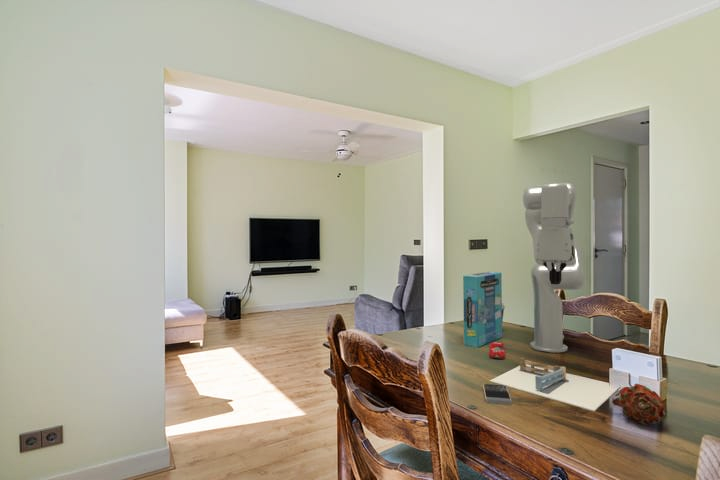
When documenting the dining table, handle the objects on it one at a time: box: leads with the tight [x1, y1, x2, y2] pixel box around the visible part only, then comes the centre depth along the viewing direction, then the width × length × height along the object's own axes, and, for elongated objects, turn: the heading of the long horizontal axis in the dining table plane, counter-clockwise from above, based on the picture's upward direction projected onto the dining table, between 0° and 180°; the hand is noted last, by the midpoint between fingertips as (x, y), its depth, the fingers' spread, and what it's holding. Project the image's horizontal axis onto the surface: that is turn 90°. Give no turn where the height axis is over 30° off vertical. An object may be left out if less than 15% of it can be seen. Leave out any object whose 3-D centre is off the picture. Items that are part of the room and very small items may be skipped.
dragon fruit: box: [611, 383, 667, 426], centre depth 88 cm, size 8×8×12 cm
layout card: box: [489, 364, 618, 413], centre depth 109 cm, size 22×27×1 cm
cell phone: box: [482, 383, 512, 406], centre depth 102 cm, size 6×11×1 cm, turn 167°
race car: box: [488, 341, 506, 360], centre depth 138 cm, size 13×5×4 cm, turn 158°
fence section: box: [519, 357, 561, 376], centre depth 116 cm, size 11×1×4 cm, turn 42°
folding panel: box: [535, 365, 567, 390], centre depth 108 cm, size 14×1×3 cm, turn 124°
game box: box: [462, 271, 503, 349], centre depth 155 cm, size 20×6×27 cm, turn 135°
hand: (555, 283), depth 119 cm, fingers closed
